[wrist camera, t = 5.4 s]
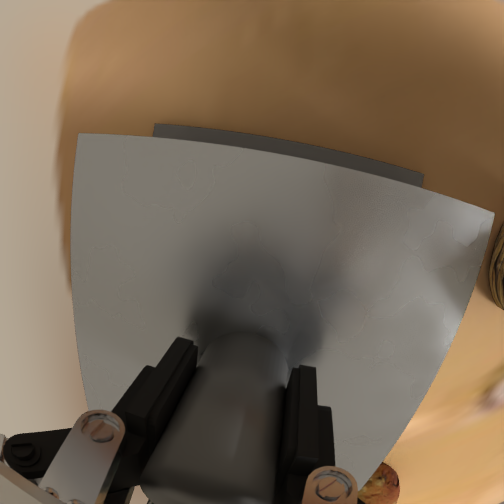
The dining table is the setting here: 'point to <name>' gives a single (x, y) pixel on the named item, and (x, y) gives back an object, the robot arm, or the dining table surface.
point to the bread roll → (381, 487)
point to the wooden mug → (498, 270)
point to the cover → (262, 300)
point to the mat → (289, 150)
